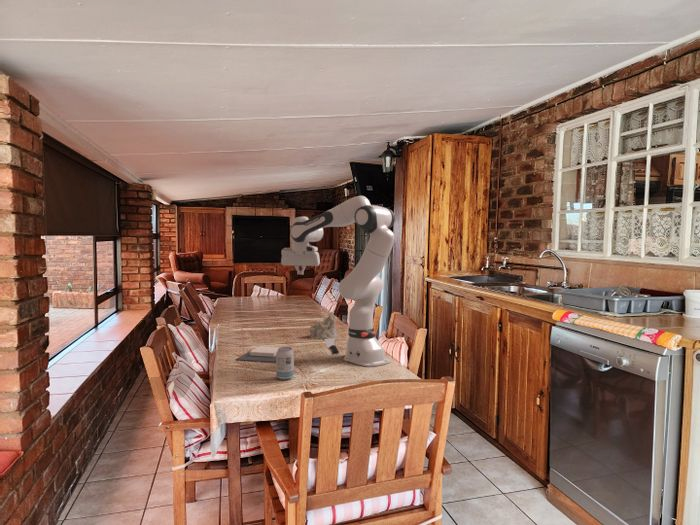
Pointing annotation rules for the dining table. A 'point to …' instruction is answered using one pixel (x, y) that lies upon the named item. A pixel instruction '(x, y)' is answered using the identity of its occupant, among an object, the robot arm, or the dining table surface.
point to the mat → (256, 358)
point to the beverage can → (285, 363)
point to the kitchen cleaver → (331, 345)
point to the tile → (264, 351)
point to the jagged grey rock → (324, 328)
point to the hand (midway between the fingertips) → (300, 274)
